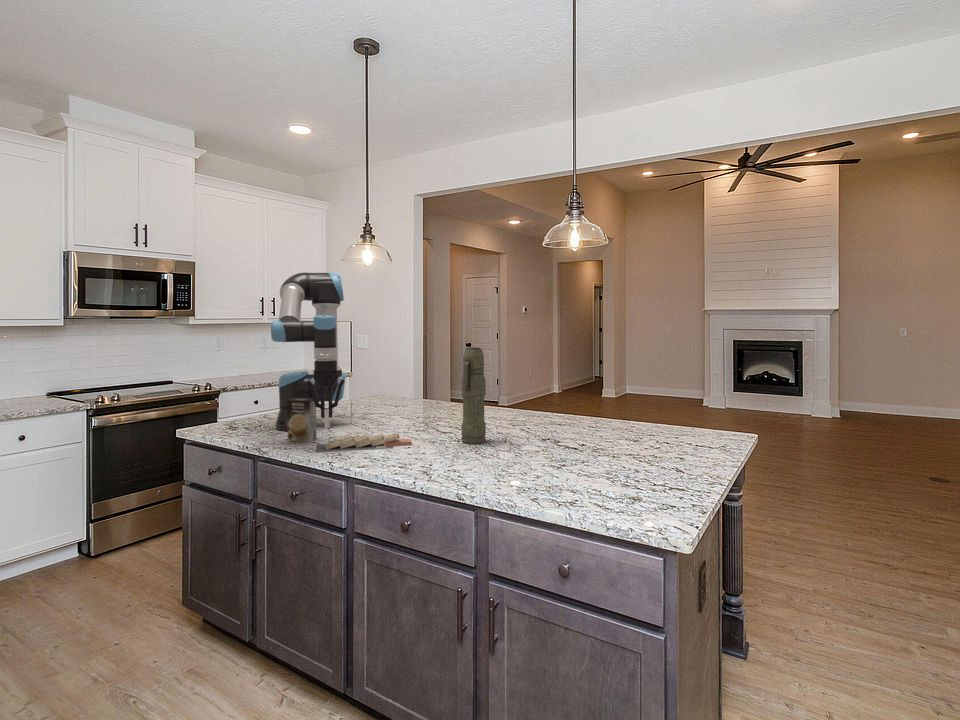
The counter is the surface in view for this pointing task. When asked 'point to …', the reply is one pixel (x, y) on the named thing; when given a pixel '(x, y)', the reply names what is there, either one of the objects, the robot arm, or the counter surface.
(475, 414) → the thermos
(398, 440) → the domino
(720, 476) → the counter surface
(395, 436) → the domino
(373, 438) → the domino
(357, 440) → the domino
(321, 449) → the mat
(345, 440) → the domino
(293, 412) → the coffee box
